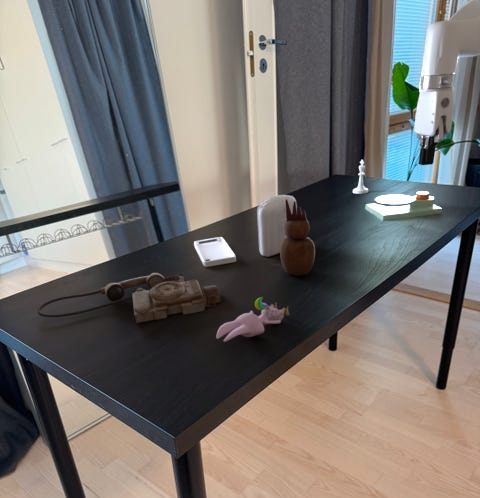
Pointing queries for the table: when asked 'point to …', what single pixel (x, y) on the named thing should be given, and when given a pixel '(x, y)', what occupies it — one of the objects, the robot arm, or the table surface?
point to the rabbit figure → (252, 321)
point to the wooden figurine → (297, 243)
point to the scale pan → (394, 200)
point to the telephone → (154, 297)
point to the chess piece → (361, 181)
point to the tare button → (422, 195)
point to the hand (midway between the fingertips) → (425, 164)
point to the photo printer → (272, 223)
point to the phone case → (214, 252)
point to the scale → (405, 209)
